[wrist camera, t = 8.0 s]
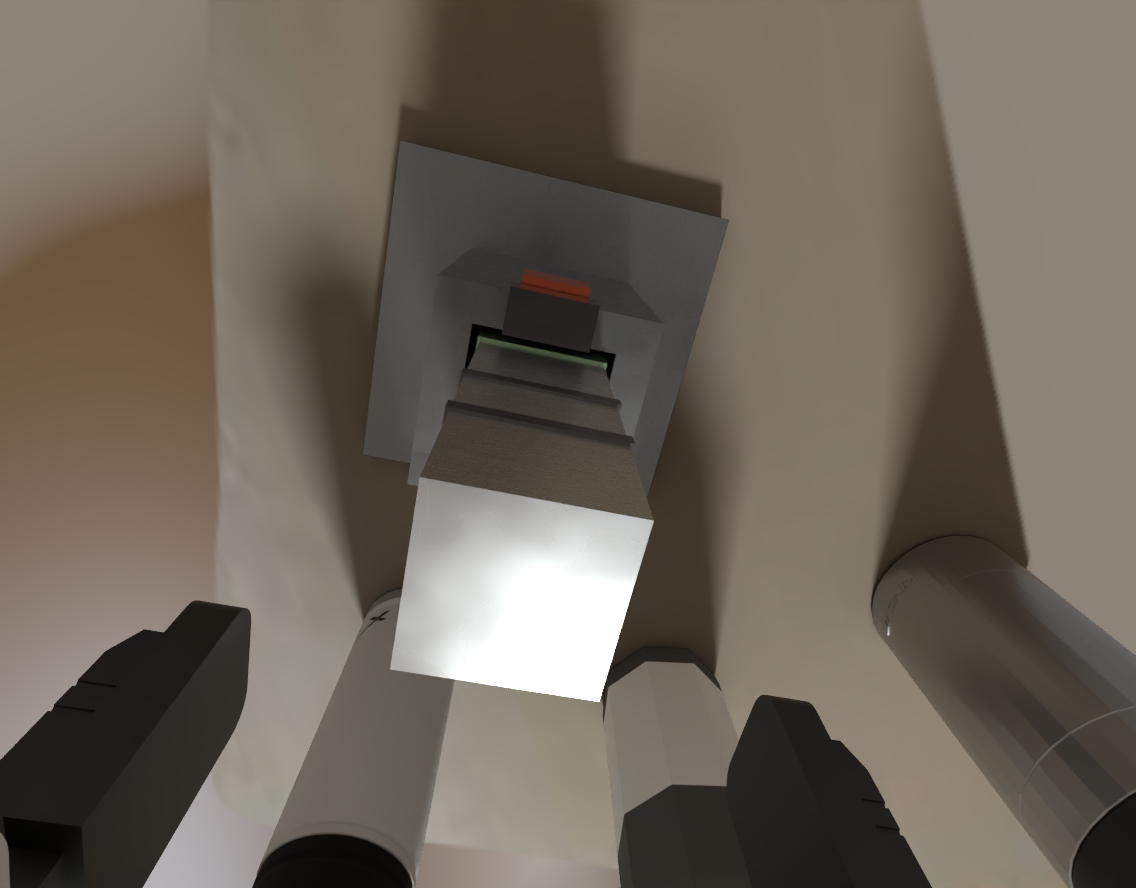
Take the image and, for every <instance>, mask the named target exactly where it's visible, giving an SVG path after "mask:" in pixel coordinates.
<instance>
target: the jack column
mask: <svg viewBox="0 0 1136 888" xmlns="http://www.w3.org/2000/svg"><path fill="white" fill-rule="evenodd" d="M606 367H607V361H606V358H605V357H604V356H601V355H600V352H599V350H595V349H590V352H589V353H587V352H582V351H578V350H573V349H568V348H563V347H559V346H554V345H549V344H545V343H540V342H535V341H531V340H526V339H521V338H517V337H512V336H507V335H502V330H501V329H496V328H492V327H487V326H486V328H485V330H484V331H482V330H481V331H480V333H479V335H478V339H477V345H476V350H475V353H474V355H473V357H472V360H471V362H470V364H469V366H468V369H467V368H463V369H462V371H461V376H460V382H459V387H458V391H457V394H456V396H455V398H454V400H448V401H447V403H446V406H445V411H444V417H443V423H442V428H441V430H440V432H439V434H438V437H437V439H436V441H435V443H434V446H433V448H432V450H431V452H430V455H429V457H428V459H427V461H426V464H425V466H424V468H423V471H422V473H421V475H420V478H419V484H418V491H417V497H416V504H415V510H414V517H413V523H412V530H411V536H410V543H409V549H408V556H407V562H406V569H405V575H404V582H403V588H402V595H401V601H400V608H399V614H398V621H397V627H396V634H395V640H394V646H393V653H392V659H391V666H390V669H391V670H397V671H404V672H410V673H417V674H423V675H430V676H436V677H443V678H449V679H456V680H462V681H469V682H475V683H482V684H488V685H495V686H501V687H508V688H514V689H521V690H527V691H534V692H540V693H547V694H553V695H560V696H566V697H573V698H579V699H586V700H592V701H598V702H599V700H600V697H601V693H602V690H603V687H604V684H605V680H606V677H607V674H608V670H609V667H610V664H611V661H612V657H613V654H614V651H615V647H616V644H617V641H618V637H619V634H620V631H621V628H622V624H623V621H624V618H625V614H626V611H627V608H628V605H629V601H630V598H631V595H632V591H633V588H634V585H635V582H636V578H637V575H638V572H639V568H640V565H641V562H642V559H643V555H644V552H645V549H646V545H647V542H648V539H649V535H650V532H651V529H652V526H653V522H654V519H653V516H652V513H651V510H650V507H649V504H648V501H647V498H646V494H645V491H644V488H643V485H642V482H641V479H640V476H639V473H638V470H637V467H636V463H635V460H634V457H633V450H634V446H635V442H634V439H633V437H632V436H627V435H626V432H625V429H624V426H623V423H622V420H621V417H620V410H621V407H622V404H621V401H620V400H617V399H615V398H614V395H613V392H612V389H611V386H610V383H609V380H608V377H607V374H606Z"/></svg>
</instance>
